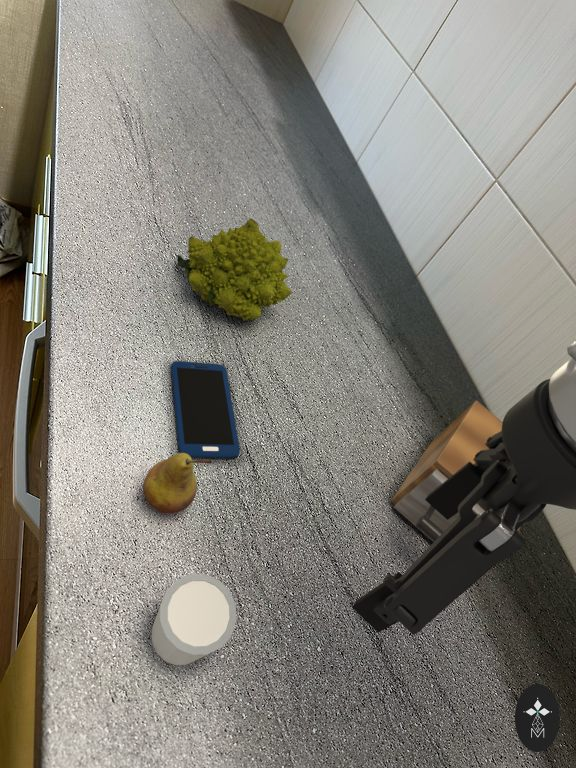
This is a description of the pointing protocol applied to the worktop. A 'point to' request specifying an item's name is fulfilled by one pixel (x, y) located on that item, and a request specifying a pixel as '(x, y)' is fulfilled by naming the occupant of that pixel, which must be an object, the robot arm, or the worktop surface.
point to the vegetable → (237, 270)
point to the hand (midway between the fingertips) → (405, 557)
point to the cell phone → (204, 410)
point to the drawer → (427, 507)
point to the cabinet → (454, 446)
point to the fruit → (171, 484)
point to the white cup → (193, 619)
